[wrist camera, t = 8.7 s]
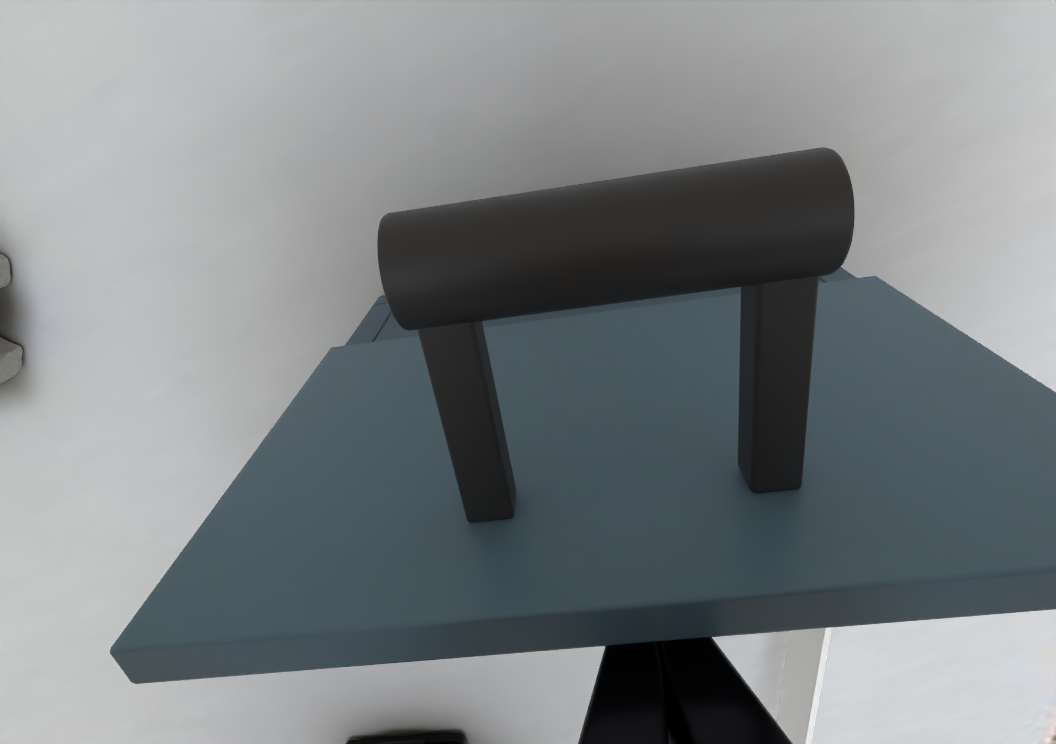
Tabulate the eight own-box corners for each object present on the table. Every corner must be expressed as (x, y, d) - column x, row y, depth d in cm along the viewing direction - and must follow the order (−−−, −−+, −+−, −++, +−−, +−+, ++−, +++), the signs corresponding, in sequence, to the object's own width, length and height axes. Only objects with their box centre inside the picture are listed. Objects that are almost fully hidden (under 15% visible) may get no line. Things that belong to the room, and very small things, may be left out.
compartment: (785, 449, 22) (836, 529, 18) (433, 487, 23) (411, 570, 19) (798, 237, 18) (866, 283, 15) (379, 296, 20) (339, 351, 16)
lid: (1272, 594, 6) (1587, 88, 4) (130, 686, 8) (-126, 335, 5) (872, 302, 14) (902, 70, 12) (338, 370, 16) (271, 172, 13)
